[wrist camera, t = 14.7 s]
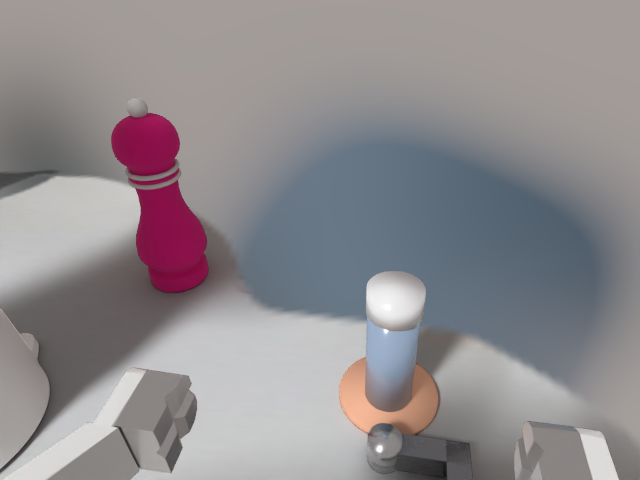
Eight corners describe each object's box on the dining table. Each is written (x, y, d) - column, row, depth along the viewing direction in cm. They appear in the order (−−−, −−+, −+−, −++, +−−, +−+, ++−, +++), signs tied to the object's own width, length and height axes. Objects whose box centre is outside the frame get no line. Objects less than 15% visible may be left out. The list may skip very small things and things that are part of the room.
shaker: (360, 409, 36) (363, 306, 30) (366, 369, 40) (369, 268, 34) (412, 416, 36) (426, 312, 30) (413, 375, 39) (425, 273, 33)
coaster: (332, 431, 35) (332, 427, 35) (346, 352, 42) (346, 349, 42) (439, 446, 34) (439, 443, 34) (436, 362, 41) (437, 359, 40)
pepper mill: (214, 253, 55) (180, 84, 44) (211, 292, 50) (171, 108, 38) (153, 259, 55) (102, 89, 44) (142, 299, 49) (80, 115, 38)
